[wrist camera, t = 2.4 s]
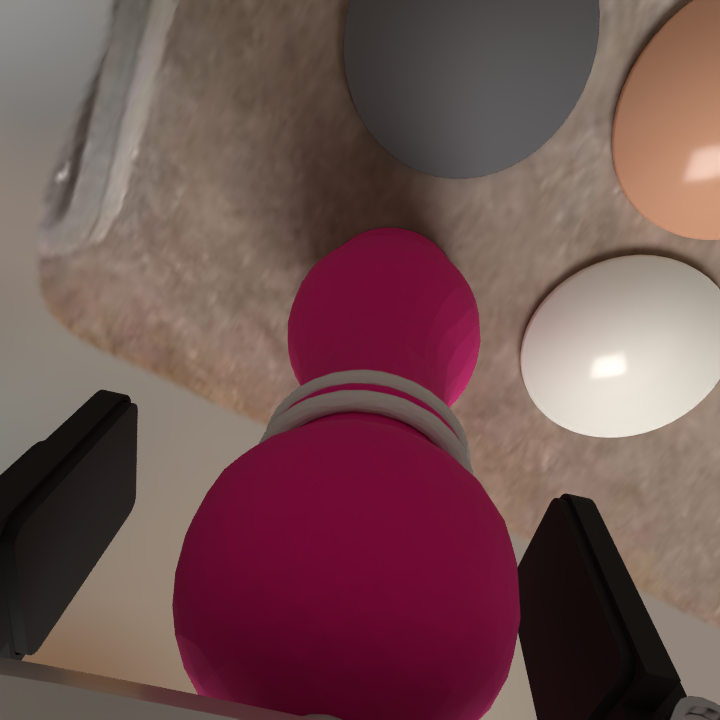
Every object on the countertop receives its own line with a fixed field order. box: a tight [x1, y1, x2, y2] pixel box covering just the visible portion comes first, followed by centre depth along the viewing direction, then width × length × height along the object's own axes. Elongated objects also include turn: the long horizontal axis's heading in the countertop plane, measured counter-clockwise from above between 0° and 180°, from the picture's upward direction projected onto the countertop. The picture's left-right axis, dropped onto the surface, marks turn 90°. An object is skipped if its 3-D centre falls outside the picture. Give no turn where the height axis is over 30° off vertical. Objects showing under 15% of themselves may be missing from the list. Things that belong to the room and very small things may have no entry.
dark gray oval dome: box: [344, 0, 600, 179], centre depth 19 cm, size 9×9×1 cm
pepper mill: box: [172, 228, 521, 720], centre depth 14 cm, size 7×7×20 cm
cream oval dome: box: [520, 255, 720, 438], centre depth 23 cm, size 9×9×1 cm
